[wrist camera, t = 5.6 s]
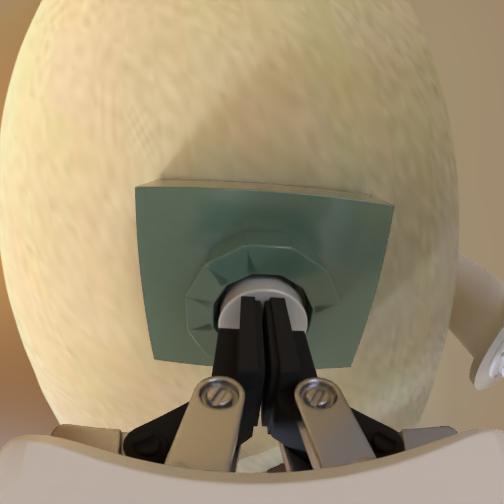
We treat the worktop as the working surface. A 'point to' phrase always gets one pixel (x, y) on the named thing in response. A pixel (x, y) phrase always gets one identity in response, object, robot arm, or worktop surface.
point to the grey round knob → (262, 299)
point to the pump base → (257, 259)
